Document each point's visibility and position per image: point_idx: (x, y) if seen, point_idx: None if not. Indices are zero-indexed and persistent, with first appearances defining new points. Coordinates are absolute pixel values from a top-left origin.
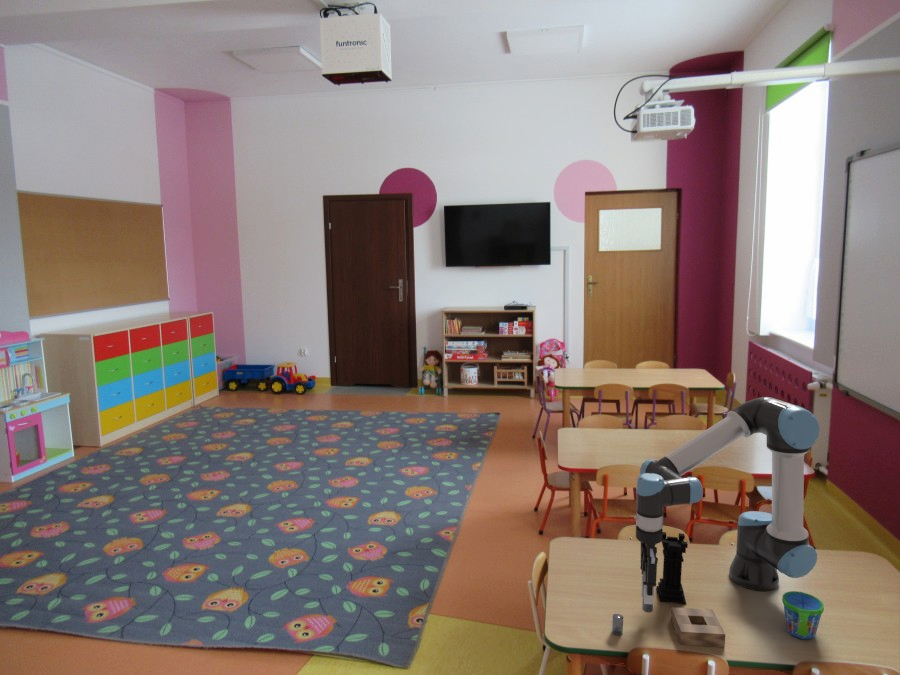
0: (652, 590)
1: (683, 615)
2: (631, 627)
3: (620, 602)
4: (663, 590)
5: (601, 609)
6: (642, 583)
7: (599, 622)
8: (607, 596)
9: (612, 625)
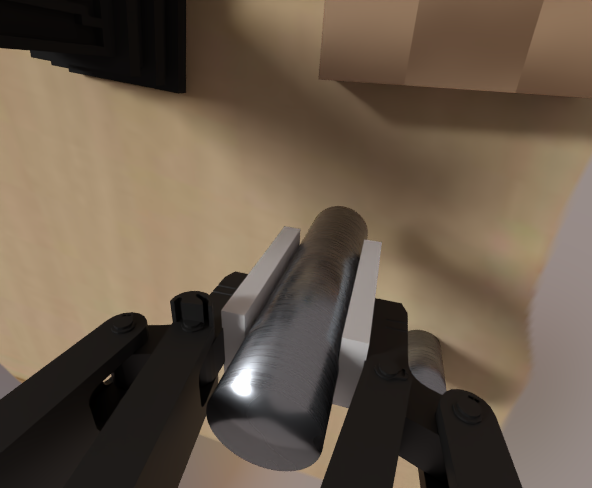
0: (407, 339)
1: (420, 15)
2: (388, 286)
3: (216, 266)
4: (136, 68)
5: None
6: None
7: None
8: None
9: None
